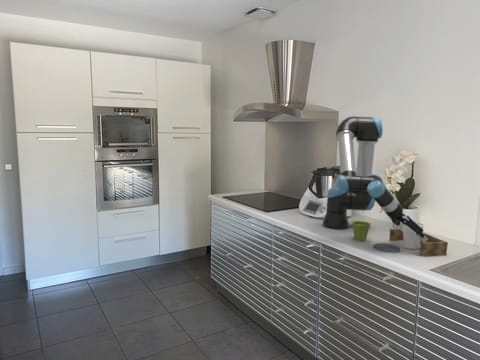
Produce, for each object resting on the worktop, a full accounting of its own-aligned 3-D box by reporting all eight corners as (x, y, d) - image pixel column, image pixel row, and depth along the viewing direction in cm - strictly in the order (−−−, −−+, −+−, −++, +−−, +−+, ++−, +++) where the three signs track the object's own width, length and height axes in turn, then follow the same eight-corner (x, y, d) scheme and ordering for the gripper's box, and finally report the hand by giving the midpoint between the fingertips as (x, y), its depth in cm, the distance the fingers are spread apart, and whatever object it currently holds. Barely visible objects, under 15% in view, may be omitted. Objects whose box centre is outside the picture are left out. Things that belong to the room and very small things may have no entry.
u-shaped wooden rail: (420, 256, 162) (422, 243, 161) (389, 240, 185) (390, 229, 184) (446, 254, 164) (447, 242, 164) (411, 239, 188) (412, 228, 187)
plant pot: (370, 238, 188) (371, 222, 187) (368, 242, 179) (369, 226, 178) (352, 235, 192) (353, 220, 191) (349, 240, 183) (350, 223, 182)
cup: (423, 251, 169) (425, 226, 167) (402, 248, 171) (404, 225, 170) (419, 245, 177) (421, 222, 176) (400, 243, 180) (402, 220, 178)
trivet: (373, 243, 179) (373, 242, 179) (398, 246, 175) (398, 245, 175) (374, 250, 168) (374, 249, 168) (401, 253, 164) (401, 252, 164)
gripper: (371, 207, 181) (395, 234, 186) (402, 219, 157) (428, 250, 161) (381, 197, 181) (405, 224, 186) (414, 207, 157) (440, 239, 162)
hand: (416, 236), depth 174 cm, fingers open, 13 cm apart
